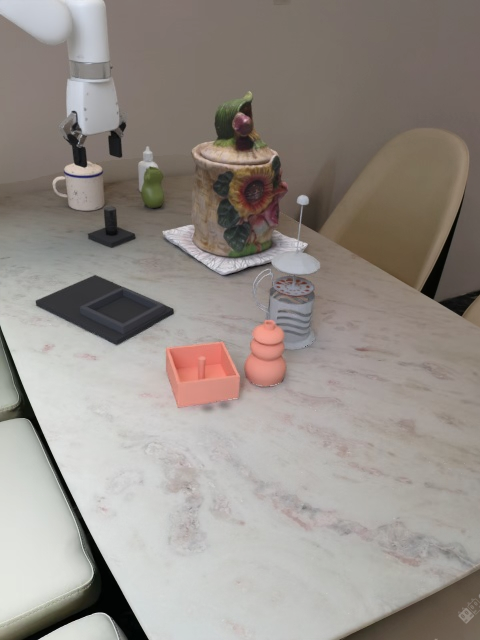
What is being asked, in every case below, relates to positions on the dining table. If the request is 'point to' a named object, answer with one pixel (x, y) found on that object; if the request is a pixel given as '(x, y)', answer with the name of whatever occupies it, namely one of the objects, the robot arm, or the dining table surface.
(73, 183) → the teacup with lid
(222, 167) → the cookie jar
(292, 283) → the french press
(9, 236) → the dining table surface
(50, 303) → the base pad
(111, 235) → the stud pad
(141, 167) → the eye dropper bottle
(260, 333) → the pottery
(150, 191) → the pear
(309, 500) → the dining table surface
